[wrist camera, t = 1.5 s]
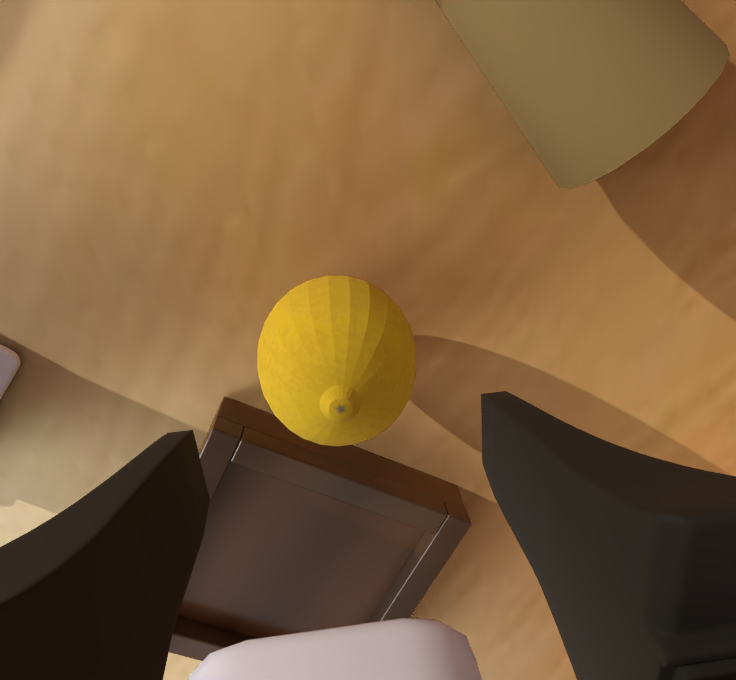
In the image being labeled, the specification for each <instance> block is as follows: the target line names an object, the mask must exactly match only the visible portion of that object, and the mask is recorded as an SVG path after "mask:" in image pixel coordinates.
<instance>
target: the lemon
mask: <svg viewBox="0 0 736 680" xmlns="http://www.w3.org/2000/svg"><path fill="white" fill-rule="evenodd" d="M257 371H258V376H259V379H260V383H261V387H262V391H263V394H264V397H265V399H266V401H267V402H268V404H269V406H270V408H271V409H272V411H273V413H274V415H275V416H276V417H277V418H278V419H279V420H280V421H281V422H282V423H283V424H284V425H285V426H286V427H287V428H288V429H289V430H290V431H292V432H293V433H295V434H297V435H298V436H300V437H302V438H303V439H306V440H309V441H312V442H315V443H317V444H321V445H329V446H345V445H353V444H357V443H360V442H363V441H366V440H368V439H371V438H373V437H374V436H376V435H378V434H379V433H381V432H382V431H384V430H386V429H387V428H388V427H389V426H390V425H391V424H392V423H393V422H394V421H395V420H396V419H397V418H398V416H399V415H400V413H401V412H402V410H403V408H404V407H405V405H406V403H407V402H408V400H409V398H410V395H411V391H412V388H413V384H414V380H415V376H416V346H415V343H414V339H413V335H412V331H411V328H410V325H409V323H408V321H407V320H406V318H405V316H404V315H403V313H402V311H401V309H400V308H399V306H398V305H397V304H396V303H395V302H394V301H393V300H392V299H391V298H390V297H389V296H388V295H387V294H386V293H385V292H384V291H382V290H381V289H379V288H377V287H375V286H374V285H372V284H370V283H368V282H367V281H365V280H361V279H357V278H354V277H350V276H330V275H328V276H324V277H320V278H315V279H311V280H308V281H306V282H305V283H303V284H301V285H299V286H297V287H295V288H293V289H292V290H291V291H289V292H288V293H287V294H286V295H285V296H284V297H283V298H282V299H281V300H280V301H278V302H277V304H276V305H275V307H274V308H273V310H272V311H271V313H270V315H269V316H268V318H267V319H266V321H265V323H264V326H263V329H262V332H261V335H260V339H259V342H258V353H257Z"/></svg>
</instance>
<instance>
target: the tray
mask: <svg viewBox="0 0 736 680" xmlns="http://www.w3.org/2000/svg"><path fill="white" fill-rule="evenodd" d="M199 457H200V461H201V465H202V469H203V473H204V477H205V481H206V485H207V489H208V493H209V497H210V501H209V507H208V514H207V520H206V525H205V531H204V536H203V539H202V542H201V546H200V549H199V552H198V555H197V558H196V561H195V564H194V568H193V571H192V574H191V577H190V580H189V583H188V586H187V589H186V592H185V595H184V598H183V601H182V604H181V607H180V610H179V613H178V617H177V620H176V623H175V627H174V631H173V634H172V638H171V642H170V647H169V652H170V653H174V654H178V655H182V656H185V657H189V658H193V659H197V660H201V661H203V660H204V659H205V658H206V657H207V656H208V655H209V654H210V653H212V652H215V651H217V650H220V649H223V648H226V647H228V646H231V645H234V644H237V643H240V642H243V641H246V640H250V639H258V638H265V637H272V636H279V635H286V634H293V633H300V632H307V631H314V630H321V629H328V628H336V627H343V626H350V625H357V624H364V623H371V622H378V621H385V620H392V619H399V618H409V617H410V615H411V614H412V613H413V611H414V610H415V608H416V607H417V605H418V604H419V602H420V601H421V599H422V598H423V596H424V595H425V593H426V592H427V590H428V589H429V587H430V586H431V584H432V583H433V581H434V580H435V578H436V577H437V575H438V574H439V572H440V571H441V569H442V568H443V566H444V565H445V563H446V562H447V560H448V559H449V557H450V556H451V554H452V553H453V551H454V550H455V548H456V547H457V545H458V544H459V542H460V541H461V539H462V538H463V536H464V535H465V533H466V532H467V530H468V529H469V527H470V526H471V521H470V518H469V516H468V513H467V511H466V510H465V506H464V504H463V501H462V498H461V496H460V493H459V491H458V488H457V486H456V485H453V484H451V483H448V482H445V481H443V480H440V479H438V478H435V477H432V476H430V475H427V474H425V473H422V472H419V471H417V470H414V469H412V468H409V467H406V466H404V465H401V464H399V463H396V462H393V461H391V460H388V459H386V458H383V457H380V456H378V455H375V454H373V453H370V452H368V451H365V450H362V449H360V448H357V447H355V446H352V445H345V446H329V445H321V444H317V443H315V442H312V441H309V440H306V439H303V438H302V437H300V436H298V435H297V434H295V433H293V432H292V431H290V430H289V429H288V428H287V427H286V426H285V425H284V424H283V423H282V422H281V421H280V420H279V419H278V418H277V417H276V416H274V415H272V414H269V413H266V412H264V411H261V410H259V409H256V408H253V407H251V406H248V405H246V404H243V403H240V402H238V401H235V400H233V399H230V398H227V397H224V398H223V400H222V402H221V404H220V406H219V409H218V411H217V413H216V415H215V417H214V420H213V422H212V424H211V426H210V429H209V431H208V433H207V435H206V437H205V440H204V442H203V444H202V446H201V449H200V451H199Z"/></svg>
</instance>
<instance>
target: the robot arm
mask: <svg viewBox="0 0 736 680" xmlns="http://www.w3.org/2000/svg"><path fill="white" fill-rule="evenodd" d="M20 363H21V362H20V358H19V356H18V355H17V354H16V353H15V352H14V351H12V350H10V349H9V348H7V347H5V346H3V345H1V344H0V400H1V398H2V396H3V394H4V393H5V391H6V389H7V387H8V386H9V384H10V382H11V381H12V379H13V377H14V375H15V374H16V372H17V370H18V368H19V367H20ZM481 409H482V461H483V466H484V469H485V472H486V475H487V478H488V480H489V483H490V486H491V488H492V491H493V494H494V496H495V498H496V500H497V502H498V504H499V506H500V508H501V510H502V512H503V514H504V516H505V518H506V520H507V522H508V523H509V525H510V527H511V529H512V531H513V533H514V535H515V537H516V538H517V540H518V542H519V544H520V546H521V548H522V550H523V552H524V553H525V555H526V557H527V559H528V561H529V563H530V565H531V567H532V568H533V570H534V573H535V575H536V577H537V579H538V581H539V583H540V585H541V587H542V590H543V592H544V595H545V597H546V600H547V602H548V605H549V607H550V610H551V612H552V615H553V617H554V620H555V622H556V625H557V627H558V630H559V633H560V635H561V638H562V640H563V643H564V646H565V648H566V651H567V654H568V656H569V659H570V661H571V664H572V667H573V669H574V672H575V675H576V678H577V680H736V477H735V476H730V475H725V474H719V473H714V472H709V471H704V470H700V469H695V468H691V467H687V466H682V465H679V464H675V463H671V462H668V461H664V460H660V459H657V458H653V457H650V456H647V455H643V454H640V453H637V452H634V451H631V450H629V449H626V448H623V447H620V446H618V445H615V444H612V443H610V442H607V441H605V440H602V439H600V438H597V437H595V436H593V435H591V434H588V433H586V432H584V431H582V430H580V429H577V428H575V427H573V426H571V425H569V424H567V423H565V422H563V421H561V420H559V419H557V418H555V417H553V416H552V415H550V414H548V413H546V412H544V411H542V410H540V409H539V408H537V407H535V406H533V405H531V404H529V403H528V402H526V401H524V400H522V399H520V398H518V397H516V396H515V395H513V394H510V393H508V392H506V391H503V392H495V393H487V394H481ZM209 501H210V497H209V493H208V489H207V485H206V481H205V477H204V473H203V469H202V465H201V461H200V457H199V453H198V449H197V445H196V441H195V437H194V433H193V430H188V431H180V432H172V433H167V434H166V435H164V436H162V437H161V438H160V439H158V440H157V441H156V442H154V443H153V444H152V445H150V446H149V447H148V448H147V449H145V450H144V451H143V452H142V453H140V454H139V455H138V456H137V457H135V458H134V459H133V460H132V461H130V462H129V463H128V464H126V465H125V466H124V467H123V468H121V469H120V470H119V471H118V472H116V473H115V474H114V475H113V476H111V477H110V478H109V479H107V480H106V481H105V482H103V483H102V484H101V485H99V486H98V487H96V488H95V489H94V490H92V491H91V492H90V493H88V494H87V495H85V496H84V497H83V498H81V499H80V500H79V501H77V502H76V503H74V504H73V505H71V506H70V507H68V508H67V509H65V510H64V511H62V512H61V513H59V514H58V515H56V516H55V517H53V518H51V519H50V520H48V521H46V522H45V523H43V524H41V525H40V526H38V527H37V528H35V529H33V530H31V531H30V532H28V533H26V534H24V535H22V536H21V537H19V538H17V539H15V540H13V541H11V542H9V543H7V544H6V545H4V546H2V547H0V680H163V675H164V671H165V666H166V661H167V657H168V652H169V647H170V642H171V638H172V634H173V631H174V627H175V623H176V620H177V617H178V613H179V610H180V607H181V604H182V601H183V598H184V595H185V592H186V589H187V586H188V583H189V580H190V577H191V574H192V571H193V568H194V564H195V561H196V558H197V555H198V552H199V549H200V546H201V542H202V539H203V536H204V531H205V525H206V520H207V514H208V507H209ZM188 680H482V678H481V675H480V671H479V668H478V665H477V661H476V658H475V656H474V654H473V651H472V649H471V647H470V644H469V642H468V640H467V637H466V636H465V635H463V634H461V633H460V632H458V631H456V630H455V629H453V628H451V627H449V626H448V625H446V624H444V623H442V622H441V621H438V620H429V619H412V618H399V619H392V620H385V621H378V622H371V623H364V624H357V625H350V626H343V627H336V628H328V629H321V630H314V631H307V632H300V633H293V634H286V635H279V636H272V637H265V638H258V639H250V640H246V641H243V642H240V643H237V644H234V645H231V646H228V647H226V648H223V649H220V650H217V651H215V652H212V653H210V654H209V655H208V656H207V657H206V658H205V659H204V660H203V661H202V662H201V663H200V665H199V666H198V667H197V668H196V669H195V670H194V671H193V672H192V673H191V674H190V675H189V677H188Z"/></svg>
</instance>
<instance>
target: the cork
mask: <svg viewBox="0 0 736 680" xmlns="http://www.w3.org/2000/svg"><path fill="white" fill-rule="evenodd" d="M435 1H436V3H437V5H438V6H439V8H440V9H441V11H442V12H443V14H444V15H445V17H446V18H447V20H448V21H449V23H450V24H451V26H452V27H453V29H454V30H455V32H456V33H457V35H458V36H459V38H460V39H461V41H462V42H463V44H464V45H465V47H466V48H467V50H468V51H469V53H470V54H471V56H472V57H473V59H474V60H475V62H476V63H477V65H478V67H479V68H480V70H481V71H482V73H483V74H484V76H485V77H486V79H487V80H488V82H489V83H490V85H491V86H492V88H493V89H494V91H495V92H496V94H497V95H498V97H499V98H500V100H501V101H502V103H503V104H504V106H505V107H506V109H507V110H508V112H509V113H510V115H511V116H512V118H513V119H514V121H515V122H516V124H517V125H518V127H519V129H520V130H521V132H522V133H523V135H524V136H525V138H526V139H527V141H528V142H529V144H530V145H531V147H532V148H533V150H534V151H535V153H536V154H537V156H538V157H539V159H540V160H541V162H542V163H543V165H544V166H545V168H546V169H547V171H548V172H549V174H550V175H551V177H552V178H553V180H554V181H555V183H556V184H557V186H558V187H559V188H566V189H572V188H575V187H578V186H581V185H584V184H587V183H590V182H592V181H594V180H596V179H598V178H600V177H602V176H604V175H605V174H607V173H609V172H611V171H613V170H615V169H617V168H618V167H620V166H621V165H623V164H624V163H625V162H627V161H628V160H630V159H631V158H633V157H634V156H636V155H637V154H639V153H640V152H642V151H643V150H645V149H646V148H647V147H649V146H650V145H651V144H652V143H653V142H655V141H656V140H657V139H658V138H660V137H661V136H662V135H663V134H664V133H666V132H667V131H668V130H669V129H671V128H672V127H673V126H674V125H675V124H677V123H678V122H679V121H680V120H681V119H682V118H683V117H684V116H685V115H686V114H687V113H688V112H689V111H690V110H691V109H692V108H693V107H694V106H695V105H696V104H697V103H698V102H699V101H700V100H701V99H702V98H703V97H704V95H705V94H706V93H707V92H708V90H709V89H710V88H711V86H712V85H713V84H714V82H715V81H716V80H717V79H718V77H719V76H720V75H721V73H722V72H723V69H724V67H725V65H726V62H727V60H728V58H729V55H730V54H729V51H728V48H727V45H726V44H725V43H724V42H723V41H722V40H721V39H720V38H719V37H718V36H717V35H716V34H715V33H713V32H712V31H711V30H710V29H709V28H708V27H707V26H706V25H705V24H704V23H703V22H702V21H701V20H700V19H699V18H698V17H697V16H696V15H695V14H694V13H693V12H692V11H691V10H690V9H689V8H688V7H687V6H686V5H685V4H684V3H683V2H682V1H681V0H435Z"/></svg>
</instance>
